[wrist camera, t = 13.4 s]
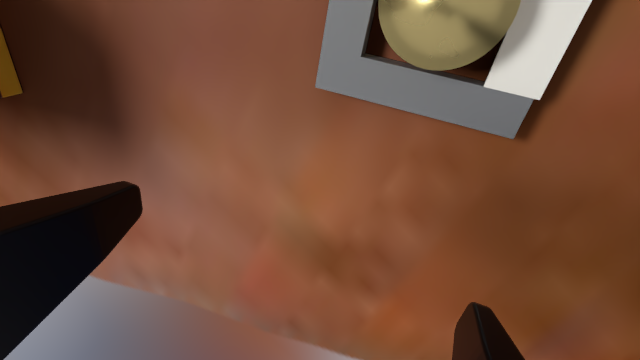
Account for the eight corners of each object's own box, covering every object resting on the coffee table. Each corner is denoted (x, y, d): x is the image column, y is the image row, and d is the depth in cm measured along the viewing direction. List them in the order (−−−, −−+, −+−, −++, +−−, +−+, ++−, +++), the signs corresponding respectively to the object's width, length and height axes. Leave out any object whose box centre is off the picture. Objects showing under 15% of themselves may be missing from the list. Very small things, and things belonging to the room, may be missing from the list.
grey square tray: (646, -130, 12) (667, -143, 11) (512, 131, 17) (517, 141, 16) (364, -165, 14) (357, -180, 12) (321, 82, 19) (314, 87, 18)
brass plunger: (539, -63, 13) (552, -71, 11) (481, 75, 15) (486, 84, 14) (403, -85, 14) (399, -95, 12) (371, 49, 16) (364, 54, 15)
